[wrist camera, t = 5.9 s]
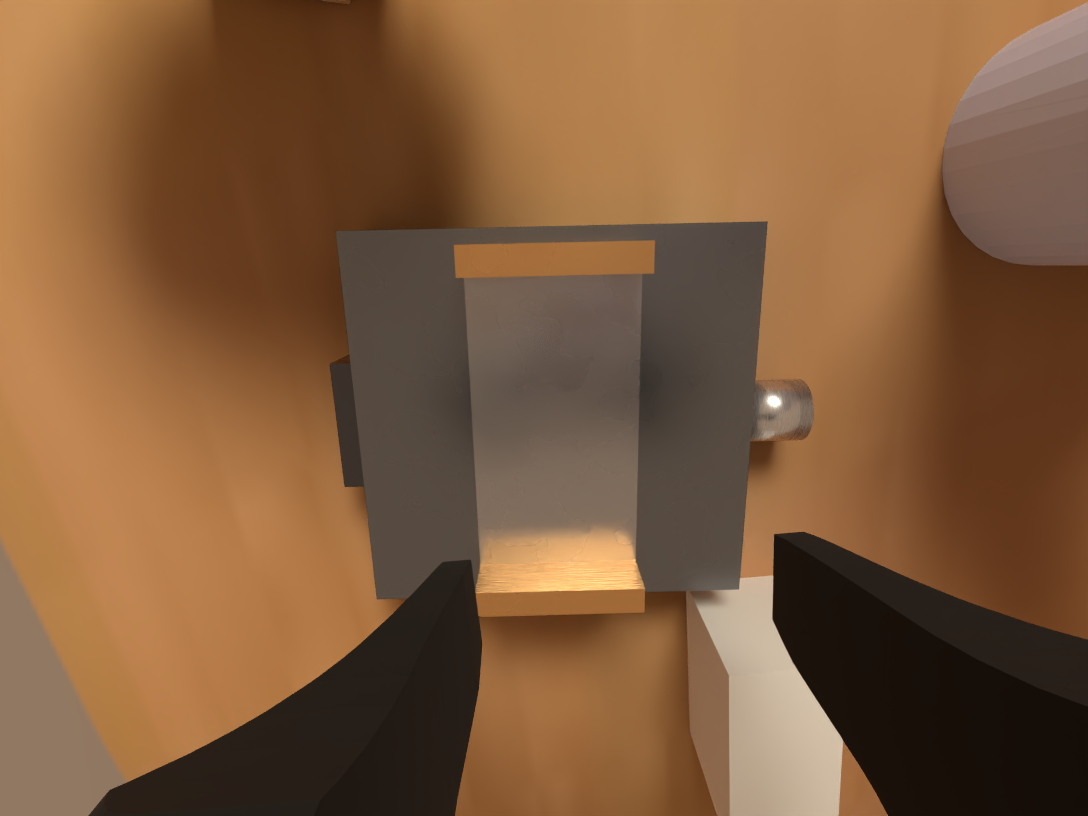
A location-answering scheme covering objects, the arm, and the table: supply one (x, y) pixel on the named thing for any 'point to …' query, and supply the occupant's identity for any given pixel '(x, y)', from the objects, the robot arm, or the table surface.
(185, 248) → the table surface
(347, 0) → the pneumatic valve
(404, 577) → the motor housing
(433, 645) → the robot arm
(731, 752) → the block
